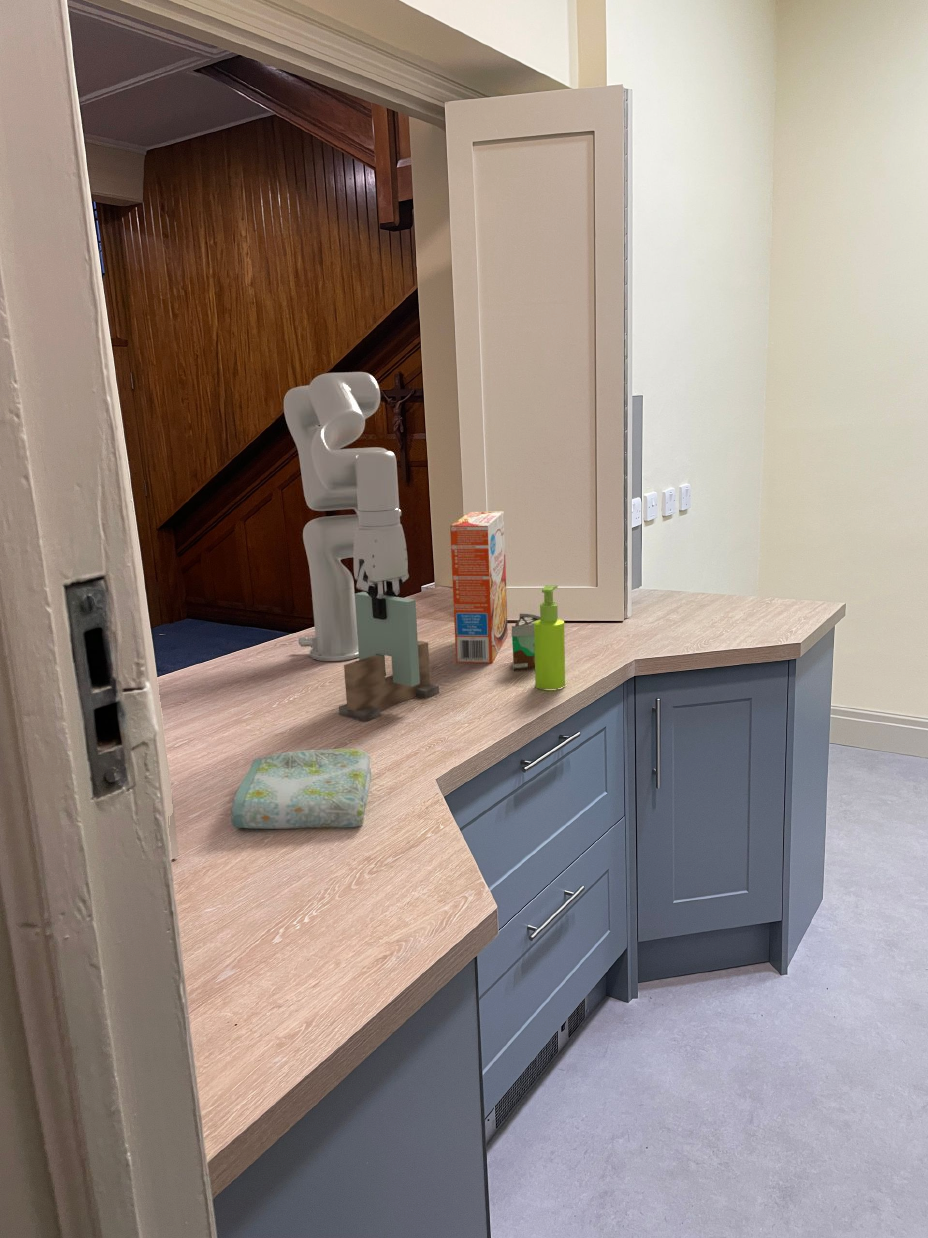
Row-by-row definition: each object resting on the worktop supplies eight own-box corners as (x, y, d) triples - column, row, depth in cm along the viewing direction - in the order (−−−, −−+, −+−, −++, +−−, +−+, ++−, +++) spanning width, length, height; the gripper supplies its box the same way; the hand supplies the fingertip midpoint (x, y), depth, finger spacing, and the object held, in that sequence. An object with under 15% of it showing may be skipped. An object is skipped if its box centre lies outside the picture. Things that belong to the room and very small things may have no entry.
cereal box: (492, 663, 204) (487, 525, 197) (456, 662, 206) (450, 526, 199) (507, 636, 226) (503, 511, 219) (474, 635, 228) (469, 511, 221)
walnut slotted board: (364, 721, 171) (361, 669, 169) (339, 714, 176) (335, 662, 173) (439, 693, 185) (437, 644, 183) (413, 686, 190) (411, 639, 188)
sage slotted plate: (411, 686, 174) (407, 602, 170) (360, 674, 183) (354, 593, 179) (419, 683, 175) (415, 599, 172) (368, 671, 184) (363, 591, 181)
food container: (542, 673, 195) (541, 627, 193) (512, 673, 196) (511, 626, 194) (548, 657, 207) (547, 613, 205) (521, 656, 208) (519, 612, 206)
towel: (373, 772, 149) (371, 741, 148) (363, 833, 129) (361, 798, 127) (258, 777, 149) (255, 747, 148) (230, 840, 128) (226, 805, 127)
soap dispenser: (569, 680, 190) (567, 583, 185) (561, 691, 183) (559, 591, 179) (541, 679, 192) (538, 582, 187) (532, 689, 185) (529, 590, 181)
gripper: (395, 512, 180) (401, 606, 185) (332, 523, 169) (339, 623, 173) (424, 514, 175) (429, 611, 180) (360, 525, 164) (367, 628, 168)
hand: (385, 616), depth 176 cm, fingers closed on sage slotted plate, 2 cm apart
